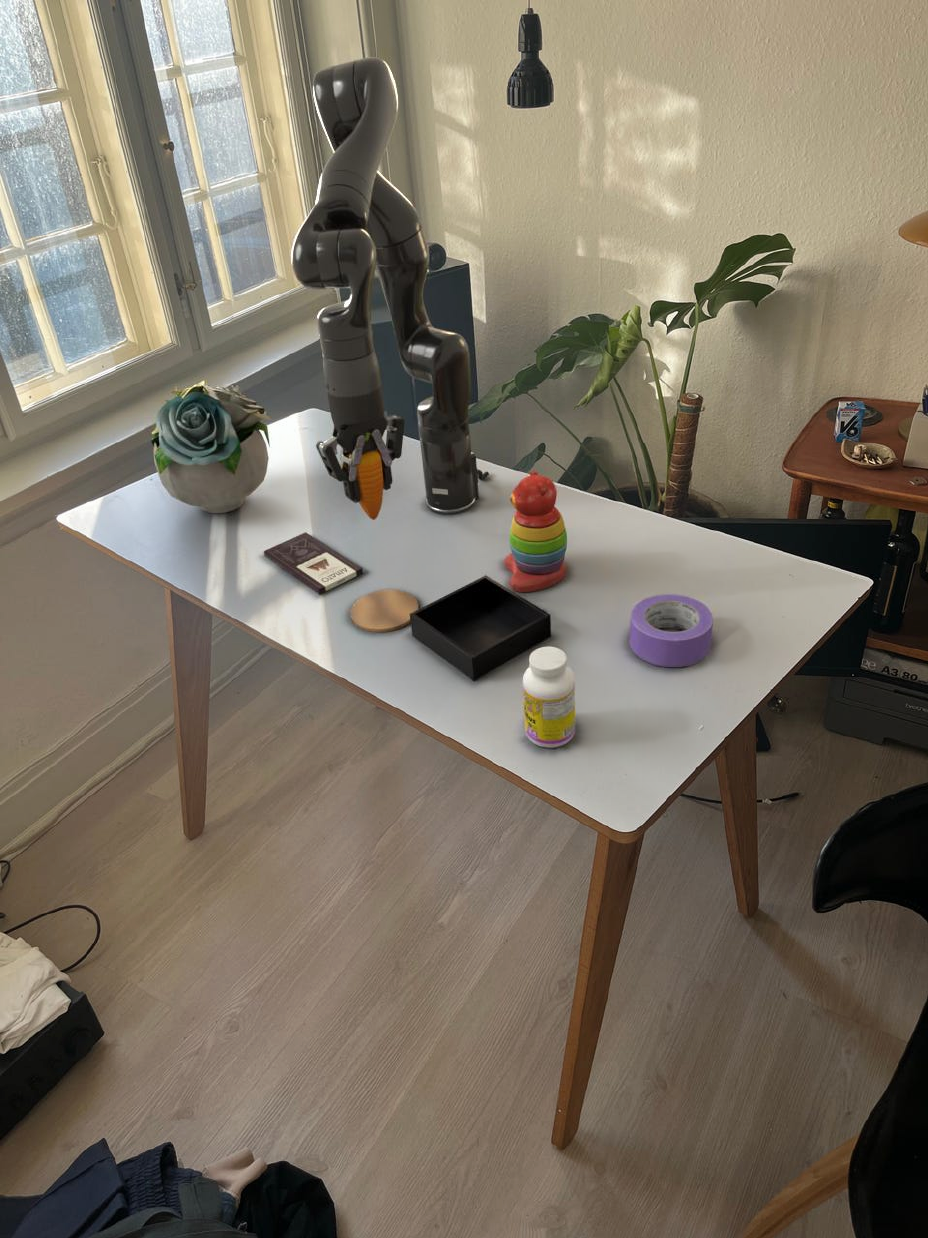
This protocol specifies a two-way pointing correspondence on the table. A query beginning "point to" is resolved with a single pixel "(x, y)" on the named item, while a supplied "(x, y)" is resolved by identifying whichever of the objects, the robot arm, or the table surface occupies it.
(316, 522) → the table surface
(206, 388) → the flower arrangement
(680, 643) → the tape roll
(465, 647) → the tray
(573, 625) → the table surface
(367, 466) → the carrot
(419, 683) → the table surface
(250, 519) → the table surface
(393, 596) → the disc
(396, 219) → the robot arm
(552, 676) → the supplement bottle
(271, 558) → the chocolate bar
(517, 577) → the stacking bear
